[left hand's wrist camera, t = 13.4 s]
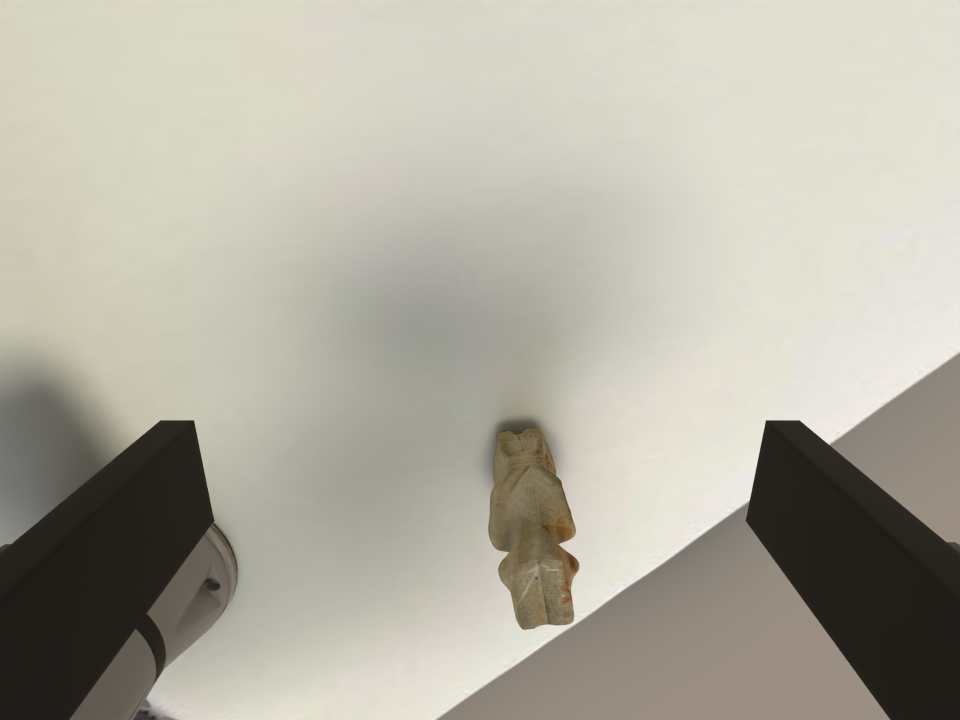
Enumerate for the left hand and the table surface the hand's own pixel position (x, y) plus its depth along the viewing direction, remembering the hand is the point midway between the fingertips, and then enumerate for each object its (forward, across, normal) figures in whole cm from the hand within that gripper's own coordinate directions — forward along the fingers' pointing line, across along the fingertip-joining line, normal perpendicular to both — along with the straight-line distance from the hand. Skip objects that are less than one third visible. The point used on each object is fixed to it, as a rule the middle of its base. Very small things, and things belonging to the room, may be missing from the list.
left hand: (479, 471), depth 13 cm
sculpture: (+29, -4, +16) cm, 33 cm away
